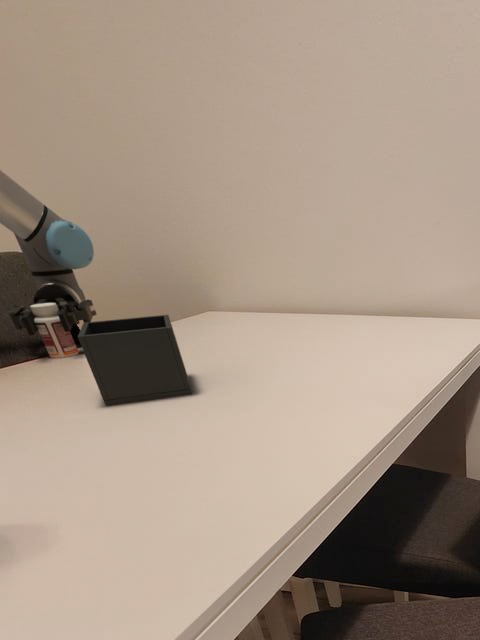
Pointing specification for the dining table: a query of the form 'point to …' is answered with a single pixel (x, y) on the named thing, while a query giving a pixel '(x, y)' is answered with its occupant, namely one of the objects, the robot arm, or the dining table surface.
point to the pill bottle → (53, 331)
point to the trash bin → (134, 359)
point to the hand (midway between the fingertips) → (46, 324)
